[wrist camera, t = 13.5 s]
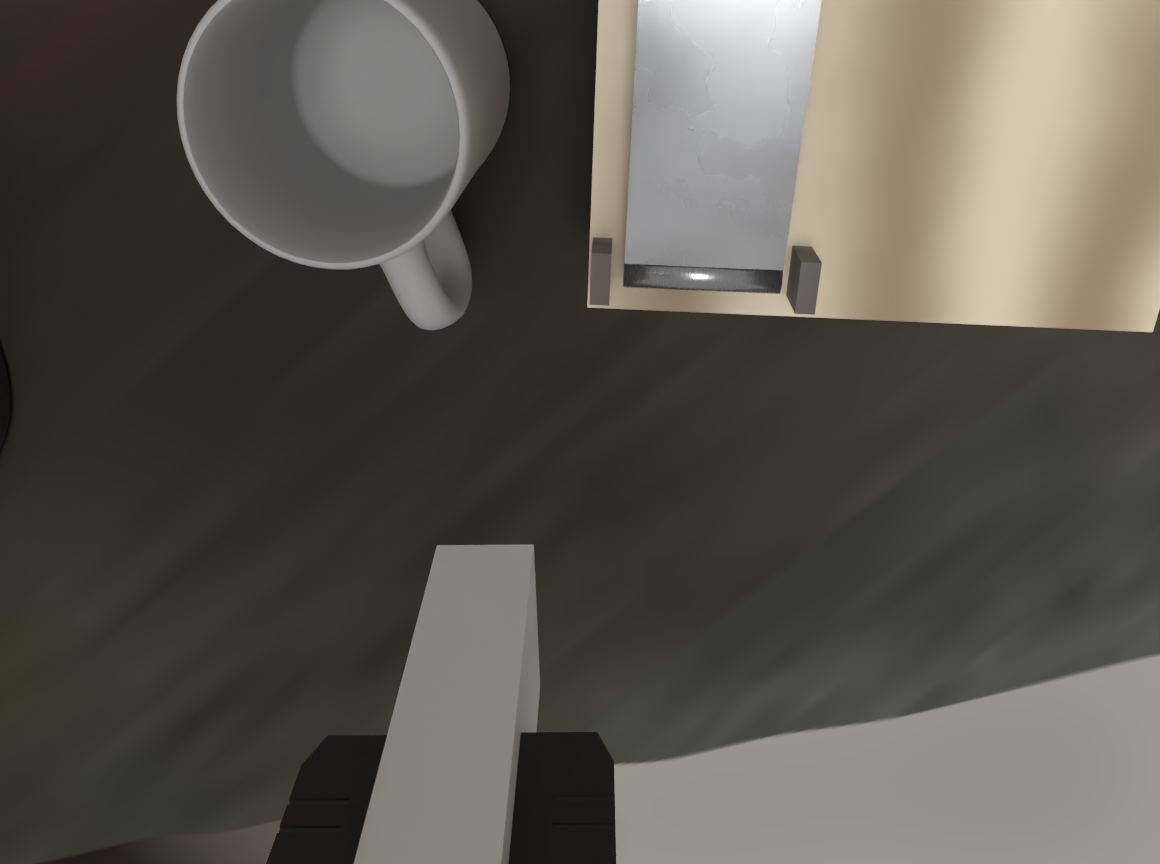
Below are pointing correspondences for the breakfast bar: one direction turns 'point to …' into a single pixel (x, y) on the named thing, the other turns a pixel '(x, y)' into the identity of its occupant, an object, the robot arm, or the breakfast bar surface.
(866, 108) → the block
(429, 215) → the mug
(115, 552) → the breakfast bar surface
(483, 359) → the breakfast bar surface
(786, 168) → the plate
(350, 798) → the robot arm
